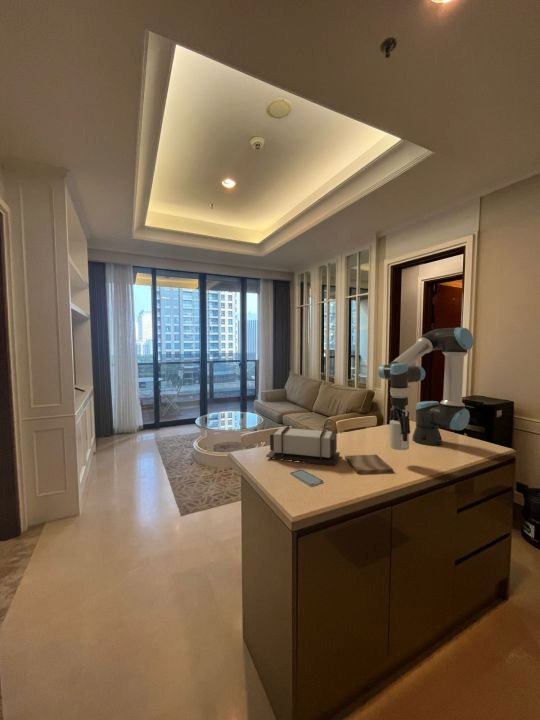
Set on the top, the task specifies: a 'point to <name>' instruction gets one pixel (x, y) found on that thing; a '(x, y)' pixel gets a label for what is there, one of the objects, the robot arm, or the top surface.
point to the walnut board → (368, 464)
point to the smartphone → (306, 478)
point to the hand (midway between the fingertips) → (399, 444)
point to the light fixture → (304, 446)
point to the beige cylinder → (396, 435)
